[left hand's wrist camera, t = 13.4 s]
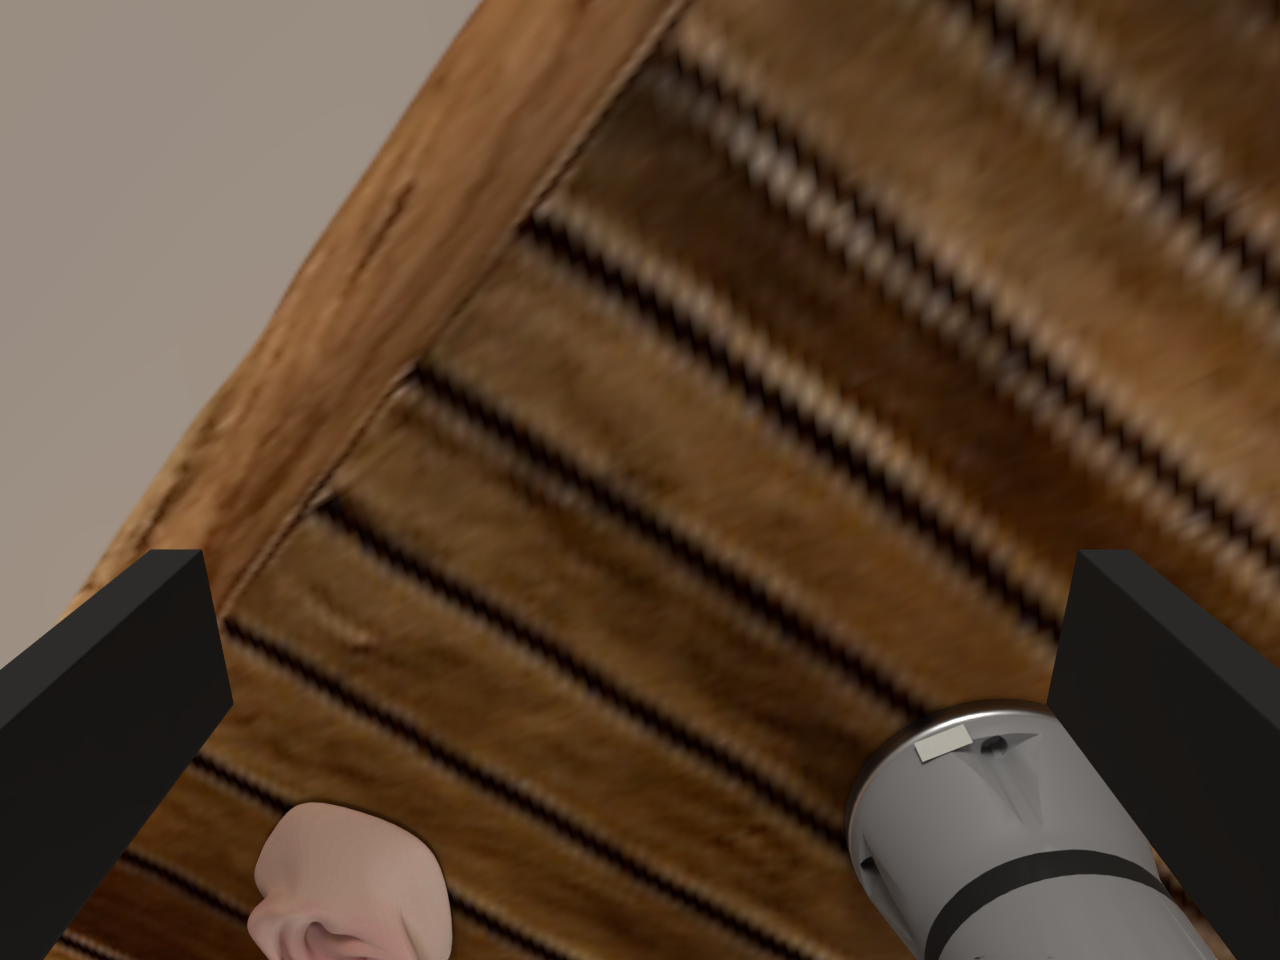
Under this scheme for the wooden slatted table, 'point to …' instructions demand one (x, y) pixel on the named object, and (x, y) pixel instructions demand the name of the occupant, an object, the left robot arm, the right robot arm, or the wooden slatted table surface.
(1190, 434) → the wooden slatted table surface
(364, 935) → the anatomical model
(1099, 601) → the left robot arm
